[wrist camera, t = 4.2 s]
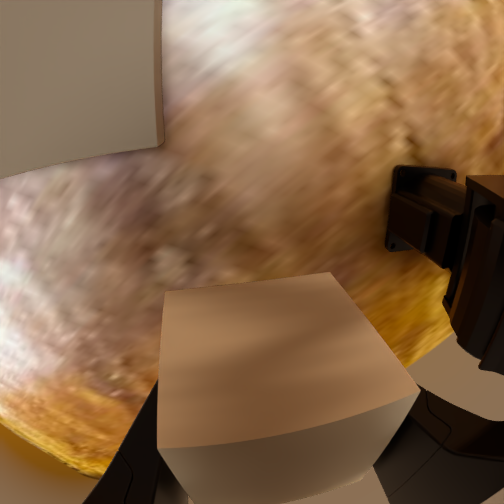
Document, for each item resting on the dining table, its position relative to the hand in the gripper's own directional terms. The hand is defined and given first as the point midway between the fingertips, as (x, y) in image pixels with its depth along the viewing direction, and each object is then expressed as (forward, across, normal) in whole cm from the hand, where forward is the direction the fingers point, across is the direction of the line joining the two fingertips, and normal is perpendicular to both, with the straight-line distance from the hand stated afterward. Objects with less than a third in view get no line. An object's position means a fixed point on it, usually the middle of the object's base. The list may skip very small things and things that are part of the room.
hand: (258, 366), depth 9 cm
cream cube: (+1, 0, 0) cm, 1 cm away
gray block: (+11, +9, -12) cm, 19 cm away
